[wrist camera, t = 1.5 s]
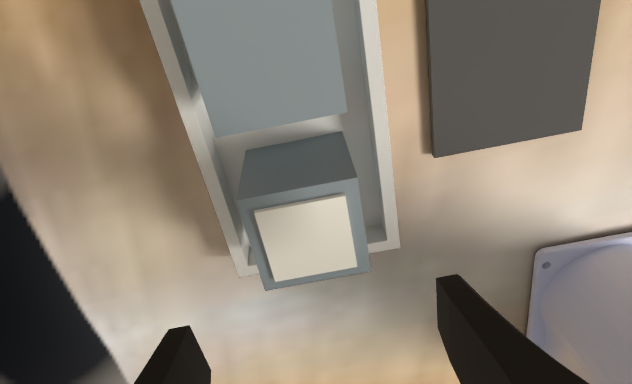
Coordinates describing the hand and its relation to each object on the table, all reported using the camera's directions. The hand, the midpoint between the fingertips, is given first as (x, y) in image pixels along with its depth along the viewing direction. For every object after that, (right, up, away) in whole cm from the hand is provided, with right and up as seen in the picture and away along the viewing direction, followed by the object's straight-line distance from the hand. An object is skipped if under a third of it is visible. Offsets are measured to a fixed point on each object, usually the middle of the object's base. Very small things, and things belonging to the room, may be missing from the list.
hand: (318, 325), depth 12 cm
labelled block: (-1, +4, +8) cm, 9 cm away
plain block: (-2, +10, +5) cm, 11 cm away
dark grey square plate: (+8, +10, +6) cm, 14 cm away
